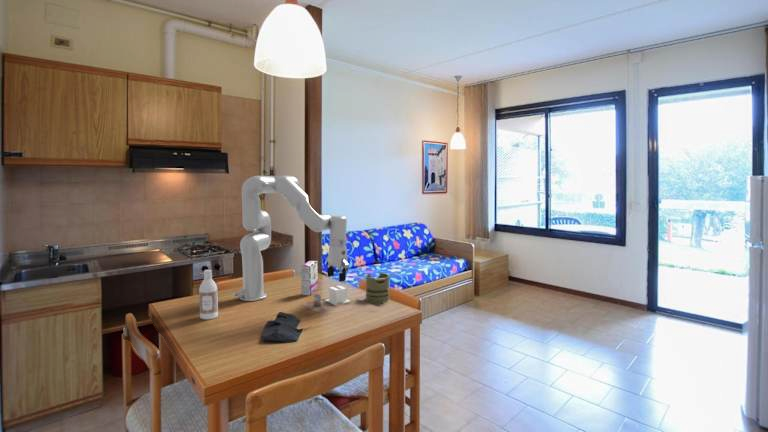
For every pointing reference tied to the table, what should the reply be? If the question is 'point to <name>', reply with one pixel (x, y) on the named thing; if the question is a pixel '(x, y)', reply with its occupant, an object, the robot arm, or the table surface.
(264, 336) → the dark slate chunk
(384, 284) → the piston
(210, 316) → the bath foam
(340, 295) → the white cube
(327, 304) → the post board
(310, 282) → the candy bar box
